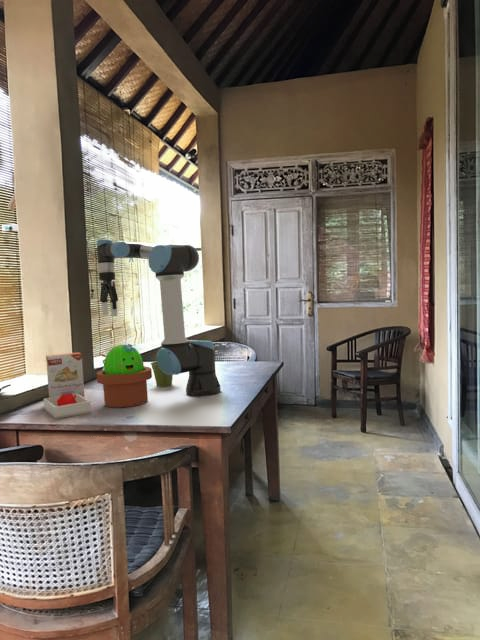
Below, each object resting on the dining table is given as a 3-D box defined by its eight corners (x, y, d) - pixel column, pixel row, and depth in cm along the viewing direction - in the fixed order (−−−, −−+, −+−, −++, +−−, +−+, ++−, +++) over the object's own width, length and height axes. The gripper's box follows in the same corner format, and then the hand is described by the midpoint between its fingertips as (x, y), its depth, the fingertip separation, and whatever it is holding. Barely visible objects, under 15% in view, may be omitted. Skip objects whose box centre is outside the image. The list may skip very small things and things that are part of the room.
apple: (53, 398, 194) (73, 388, 197) (53, 398, 200) (71, 389, 204) (62, 414, 194) (81, 404, 198) (61, 414, 201) (79, 404, 204)
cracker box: (51, 406, 210) (47, 356, 208) (49, 403, 215) (45, 355, 214) (85, 401, 216) (81, 353, 215) (82, 398, 222) (79, 351, 220)
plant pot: (178, 382, 247) (177, 359, 246) (173, 387, 235) (171, 363, 235) (155, 383, 248) (154, 360, 248) (148, 388, 237) (147, 364, 236)
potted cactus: (93, 402, 212) (88, 344, 210) (142, 394, 223) (138, 338, 221) (107, 412, 193) (102, 348, 191) (161, 403, 204) (157, 342, 203)
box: (91, 412, 194) (90, 401, 194) (55, 419, 187) (54, 407, 187) (77, 403, 212) (76, 393, 211) (44, 409, 204) (43, 398, 204)
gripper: (122, 270, 233) (126, 315, 234) (106, 273, 254) (109, 314, 256) (107, 270, 229) (110, 317, 230) (91, 273, 250) (94, 315, 252)
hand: (110, 315), depth 243 cm, fingers open, 13 cm apart
